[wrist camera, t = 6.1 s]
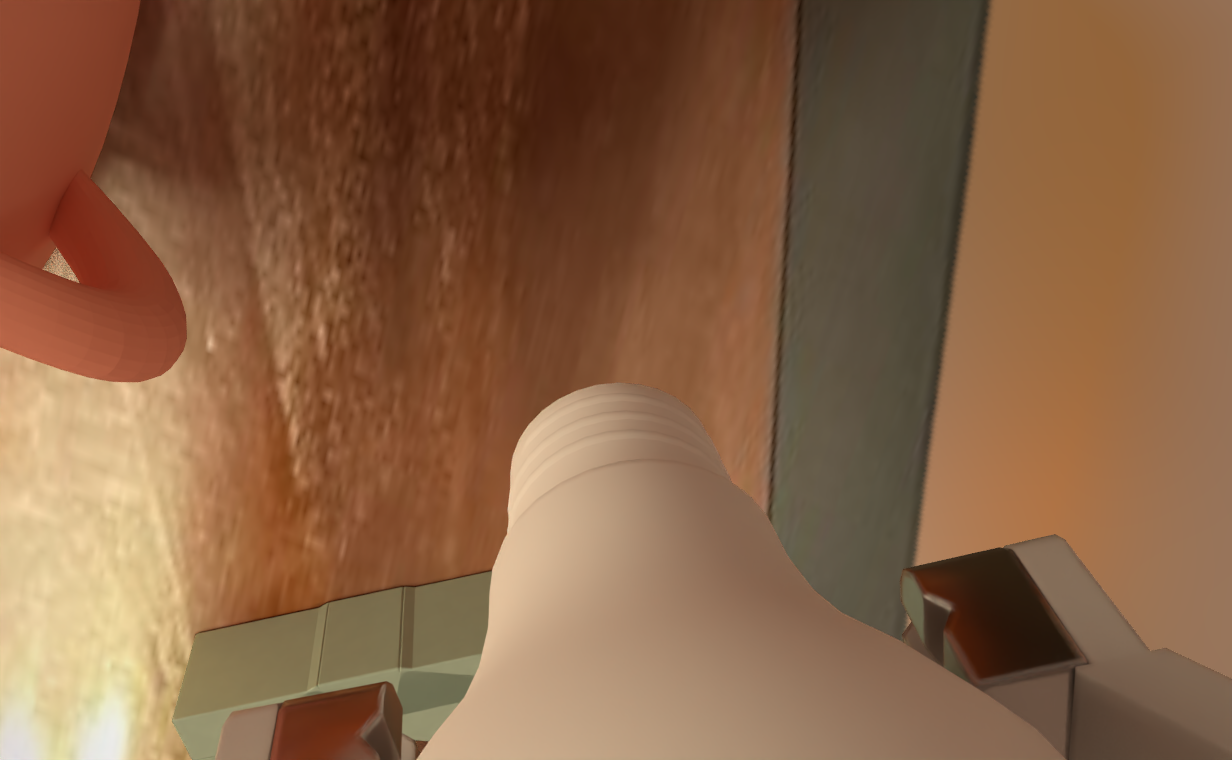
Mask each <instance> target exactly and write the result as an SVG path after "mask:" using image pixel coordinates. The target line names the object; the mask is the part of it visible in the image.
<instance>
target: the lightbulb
mask: <svg viewBox="0 0 1232 760" xmlns="http://www.w3.org/2000/svg"><path fill="white" fill-rule="evenodd" d="M508 516H509V523H508V531H507V533H508V534H507V535H506V537H505V539H504V541H503V543H502V546H501V548H500V551H499V553H498V556H497V559H496V561H495V564H494V567H493V569H492V577H491V585H490V593H489V618H488V630H487V634H486V638H485V643H484V647H483V651H482V656H481V660H480V664H479V668H478V670H477V672H476V674H475V676H474V678H473V680H472V682H471V684H470V687H469V689H468V691H467V693H466V695H465V697H464V698H463V700H462V701H461V702H460V703H459V704H458V706H457V707H456V708H455V709H454V711H453V712H452V713H451V714H450V715H449V717H448V718H447V719H446V720H445V722H444V723H443V724H442V725H441V726H440V728H439V729H438V730H437V731H436V732H435V734H434V735H433V736H432V738H431V739H430V741H429V742H428V744H427V745H426V747H425V748H424V749H423V751H422V752H421V754H420V755H419V757H418V758H417V759H416V760H1066V759H1065V758H1064V757H1063V756H1062V755H1061V754H1060V753H1059V752H1058V751H1057V750H1056V749H1055V748H1054V747H1053V746H1052V745H1051V744H1050V743H1049V742H1048V741H1047V739H1046V738H1045V737H1044V736H1043V735H1042V734H1041V733H1040V732H1039V731H1038V730H1037V729H1036V728H1034V727H1033V726H1031V725H1030V724H1029V723H1027V722H1026V721H1024V720H1023V719H1021V718H1020V717H1019V716H1017V715H1016V714H1014V713H1013V712H1011V711H1010V710H1009V709H1007V708H1006V707H1004V706H1003V705H1001V704H1000V703H999V702H997V701H996V700H994V699H993V698H991V697H990V696H989V695H987V694H985V693H984V692H982V691H981V690H979V689H977V688H976V687H974V686H973V685H971V684H969V683H968V682H966V681H964V680H963V679H961V678H960V677H958V676H956V675H955V674H953V673H951V672H950V671H948V670H947V669H945V668H943V667H942V666H940V665H939V664H937V663H935V662H934V661H932V660H930V659H929V658H927V657H926V656H924V655H922V654H921V653H919V652H917V651H916V650H914V649H913V648H911V647H909V646H908V645H906V644H905V643H903V642H901V641H900V640H898V639H895V638H893V637H891V636H889V635H887V634H885V633H883V632H881V631H879V630H877V629H875V628H872V627H870V626H868V625H866V624H864V623H862V622H860V621H858V620H856V619H854V618H852V617H849V616H847V615H845V614H843V613H841V612H840V611H839V610H838V609H836V608H835V607H834V606H833V605H832V604H830V603H829V602H828V601H827V600H826V599H824V598H823V597H822V596H821V595H819V594H818V593H817V592H816V591H815V590H813V588H812V587H811V586H810V584H809V583H808V582H807V581H806V579H805V578H804V577H803V575H802V574H801V573H800V572H799V570H798V569H797V568H796V566H795V565H794V564H793V562H792V561H791V560H790V559H789V557H788V556H787V554H786V552H785V550H784V548H783V546H782V544H781V542H780V540H779V538H778V536H777V534H776V532H775V530H774V528H773V526H772V524H771V522H770V520H769V519H768V517H767V515H766V514H765V513H764V512H763V510H762V509H761V508H760V507H759V506H758V505H757V504H756V502H755V501H754V500H753V499H752V498H751V497H750V496H749V495H748V494H747V493H746V492H745V491H743V490H742V489H740V488H739V487H738V486H736V485H735V484H733V483H732V481H731V479H730V476H729V474H728V472H727V470H726V468H725V466H724V464H723V462H722V460H721V459H720V455H719V453H718V451H717V449H716V447H715V445H714V443H713V442H712V440H711V438H710V437H709V435H708V434H707V432H706V430H705V429H704V427H703V425H702V423H701V421H700V420H699V418H698V417H697V416H696V415H695V414H694V413H693V411H692V410H691V409H690V408H689V407H688V406H686V405H685V404H684V403H682V402H681V401H680V400H678V399H677V398H676V397H674V396H672V395H670V394H668V393H665V392H663V391H661V390H659V389H656V388H652V387H648V386H644V385H640V384H630V383H610V384H600V385H595V386H591V387H588V388H584V389H581V390H577V391H575V392H573V393H571V394H569V395H566V396H564V397H562V398H560V399H558V400H557V401H555V402H554V403H552V404H551V405H550V406H548V407H547V408H545V409H544V410H543V411H541V412H540V413H539V415H538V416H537V417H536V418H535V419H534V420H533V421H532V422H531V423H530V424H529V425H528V426H527V428H526V430H525V431H524V433H523V434H522V436H521V437H520V439H519V441H518V443H517V446H516V449H515V451H514V454H513V457H512V465H511V472H510V495H509V503H508Z"/></svg>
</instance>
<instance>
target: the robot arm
mask: <svg viewBox="0 0 1232 760" xmlns="http://www.w3.org/2000/svg"><path fill="white" fill-rule="evenodd" d="M900 588H901V602H902V604H903V606H904V608H905V610H906V612H907V614H908V616H909V617H910V619H911V621H912V622H911V623H910V624H909V626H908V627H907V629H906V630H905V631H904V633H903V634H902V637H903V643H905V644H906V645H908V646H909V647H911V648H913V649H914V650H916V651H917V652H919V653H921V654H922V655H924V656H926V657H927V658H929V659H930V660H932V661H934V662H935V663H937V664H939V665H940V666H942V667H943V668H945V669H947V670H948V671H950V672H951V673H953V674H955V675H956V676H958V677H960V678H961V679H963V680H964V681H966V682H968V683H969V684H971V685H973V686H974V687H976V688H977V689H979V690H981V691H982V692H984V693H985V694H987V695H989V696H990V697H991V698H993V699H994V700H996V701H997V702H999V703H1000V704H1001V705H1003V706H1004V707H1006V708H1007V709H1009V710H1010V711H1011V712H1013V713H1014V714H1016V715H1017V716H1019V717H1020V718H1021V719H1023V720H1024V721H1026V722H1027V723H1029V724H1030V725H1031V726H1033V727H1034V728H1036V729H1037V730H1038V731H1039V732H1040V733H1041V734H1042V735H1043V736H1044V737H1045V738H1046V739H1047V741H1048V742H1049V743H1050V744H1051V745H1052V746H1053V747H1054V748H1055V749H1056V750H1057V751H1058V752H1059V753H1060V754H1061V755H1062V756H1063V757H1064V758H1065V759H1066V760H1232V679H1231V678H1229V677H1227V676H1225V675H1223V674H1220V673H1218V672H1216V671H1214V670H1212V669H1210V668H1208V667H1205V666H1203V665H1201V664H1199V663H1197V662H1195V661H1193V660H1191V659H1189V658H1186V657H1184V656H1182V655H1180V654H1178V653H1176V652H1174V651H1171V650H1169V649H1167V648H1163V649H1158V650H1153V651H1150V650H1149V649H1148V647H1147V646H1146V645H1145V643H1144V642H1143V641H1142V640H1141V638H1140V637H1139V636H1138V635H1137V633H1136V632H1135V630H1134V629H1133V628H1132V626H1131V625H1130V624H1129V623H1128V621H1127V620H1126V619H1125V618H1124V616H1123V615H1122V614H1121V612H1120V611H1119V610H1118V608H1117V607H1116V606H1115V605H1114V603H1113V602H1112V600H1111V599H1110V598H1109V596H1108V595H1107V594H1106V593H1105V591H1104V590H1103V589H1102V587H1101V586H1100V585H1099V583H1098V582H1097V581H1096V580H1095V578H1094V577H1093V575H1092V574H1091V573H1090V572H1089V570H1088V569H1087V568H1086V566H1085V565H1084V564H1083V562H1082V561H1081V560H1080V559H1079V557H1078V556H1077V555H1076V553H1075V552H1074V551H1073V549H1072V548H1071V547H1070V546H1069V544H1068V543H1067V542H1066V540H1065V539H1063V538H1061V537H1059V536H1057V535H1055V534H1054V535H1050V536H1046V537H1041V538H1037V539H1032V540H1028V541H1024V542H1019V543H1015V544H1010V545H1006V546H1004V547H1003V548H995V549H990V550H986V551H981V552H977V553H972V554H968V555H964V556H959V557H955V558H951V559H946V560H941V561H937V562H932V563H928V564H923V565H919V566H915V567H910V568H906V569H903V571H902V575H901V580H900ZM402 717H403V707H402V705H401V703H400V700H399V698H398V695H397V693H396V691H395V688H394V686H393V684H392V683H389V682H387V681H384V682H379V683H374V684H369V685H363V686H358V687H353V688H348V689H342V690H337V691H332V692H327V693H321V694H316V695H311V696H306V697H300V698H295V699H290V700H285V701H284V702H282V703H276V704H271V705H265V706H260V707H254V708H249V709H243V710H238V711H232V712H231V714H230V715H229V717H228V718H227V720H226V721H225V723H224V724H223V726H222V730H221V734H220V739H219V743H218V748H217V752H216V757H215V760H416V759H417V758H418V757H419V755H420V753H419V750H418V747H417V745H416V742H415V740H414V739H412V738H410V737H408V736H407V735H405V734H403V733H402Z"/></svg>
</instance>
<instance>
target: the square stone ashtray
mask: <svg viewBox="0 0 1232 760" xmlns="http://www.w3.org/2000/svg"><path fill="white" fill-rule="evenodd" d="M491 577H492V571H490V572H485V573H480V574H475V575H471V576H466V577H461V578H457V579H452V580H447V581H443V582H438V583H433V584H428V585H424V586H419V587H404V588H403V587H399V588H394V589H390V590H385V591H380V592H375V593H371V594H366V595H361V596H357V597H352V598H347V599H342V600H338V601H333V602H330V603H326V604H324V605H323V606H321V607H319V608H315V609H311V610H306V611H301V612H297V613H292V614H287V615H282V616H278V617H273V618H268V619H264V620H259V621H254V622H249V623H245V624H240V625H235V626H231V627H226V628H221V629H216V630H212V631H207V632H202V633H198V634H196V635H195V639H194V642H193V646H192V650H191V653H190V657H189V660H188V664H187V668H186V671H185V675H184V678H183V682H182V686H181V689H180V693H179V696H178V700H177V704H176V707H175V711H174V714H173V718H172V722H173V724H174V726H175V728H176V730H177V732H178V734H179V736H180V737H181V739H182V741H183V743H184V745H185V747H186V749H187V751H188V753H189V755H190V757H191V759H192V760H215V757H216V752H217V748H218V743H219V739H220V734H221V730H222V726H223V724H224V723H225V721H226V720H227V718H228V717H229V715H230V714H231V712H232V711H238V710H243V709H249V708H254V707H260V706H265V705H271V704H276V703H282V702H284V701H285V700H290V699H295V698H300V697H306V696H311V695H316V694H321V693H327V692H332V691H337V690H342V689H348V688H353V687H358V686H363V685H369V684H374V683H379V682H384V681H387V682H389V683H392V684H393V686H394V688H395V691H396V693H397V695H398V698H399V700H400V703H401V705H402V707H403V717H402V733H403V734H405V735H407V736H408V737H410V738H412V739H414V740H417V741H430V739H431V738H432V736H433V735H434V734H435V732H436V731H437V730H438V729H439V728H440V726H441V725H442V724H443V723H444V722H445V720H446V719H447V718H448V717H449V715H450V714H451V713H452V712H453V711H454V709H455V708H456V707H457V706H458V704H459V703H460V702H461V701H462V700H463V698H464V697H465V695H466V693H467V691H468V689H469V687H470V684H471V682H472V680H473V678H474V676H475V674H476V672H477V670H478V668H479V664H480V660H481V656H482V651H483V647H484V643H485V638H486V634H487V630H488V618H489V593H490V585H491Z"/></svg>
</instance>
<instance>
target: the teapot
mask: <svg viewBox="0 0 1232 760" xmlns="http://www.w3.org/2000/svg"><path fill="white" fill-rule="evenodd" d="M139 5H140V0H0V347H1V348H4V349H6V350H9V351H11V352H14V353H16V354H19V355H22V356H24V357H27V358H30V359H33V360H35V361H38V362H41V363H44V364H47V365H50V366H53V367H56V368H58V369H61V370H65V371H68V372H72V373H75V374H79V375H82V376H86V377H89V378H95V379H100V380H106V381H112V382H141V381H145V380H149V379H152V378H155V377H157V376H160V375H162V374H164V373H165V372H166V371H168V370H169V369H170V368H171V367H172V366H173V364H174V363H175V362H176V361H177V359H178V358H179V356H180V355H181V353H182V352H183V350H184V347H185V343H186V339H187V330H186V314H185V311H184V307H183V304H182V301H181V298H180V296H179V293H178V291H177V289H176V286H175V284H174V282H173V280H172V278H171V276H170V275H169V273H168V271H167V270H166V268H165V267H164V265H163V263H162V262H161V261H160V259H159V258H158V257H157V255H156V254H155V253H154V251H153V250H152V249H151V248H150V246H149V245H148V244H147V243H146V241H145V240H144V239H143V238H142V236H141V235H140V234H139V233H138V232H137V230H136V229H135V228H134V227H133V226H132V224H131V223H130V222H129V221H128V220H127V219H126V218H125V216H124V215H123V214H122V213H121V212H120V211H119V209H118V208H117V207H116V206H115V205H114V204H113V203H112V202H111V200H110V199H109V198H108V197H107V196H106V195H105V194H104V192H103V191H102V190H101V189H100V188H99V187H98V186H97V185H96V184H95V183H94V182H93V181H92V180H91V179H90V178H91V175H92V173H93V170H94V168H95V165H96V163H97V160H98V157H99V155H100V152H101V150H102V147H103V144H104V141H105V138H106V135H107V132H108V129H109V125H110V122H111V119H112V116H113V113H114V110H115V107H116V103H117V100H118V96H119V92H120V88H121V85H122V81H123V77H124V74H125V70H126V66H127V62H128V58H129V54H130V49H131V45H132V40H133V36H134V31H135V27H136V23H137V18H138V12H139ZM56 247H57V248H58V250H59V251H60V253H61V254H62V256H63V257H64V259H65V260H66V262H67V263H68V264H69V266H70V267H71V269H72V271H73V272H74V274H75V275H76V277H77V278H78V280H79V282H80V283H77V282H74V281H71V280H68V279H65V278H63V277H60V276H58V275H55V274H52V273H50V272H47V271H45V270H42V269H43V267H44V265H45V264H46V262H47V261H48V259H49V257H50V256H51V254H52V253H53V251H54V249H55V248H56Z"/></svg>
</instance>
